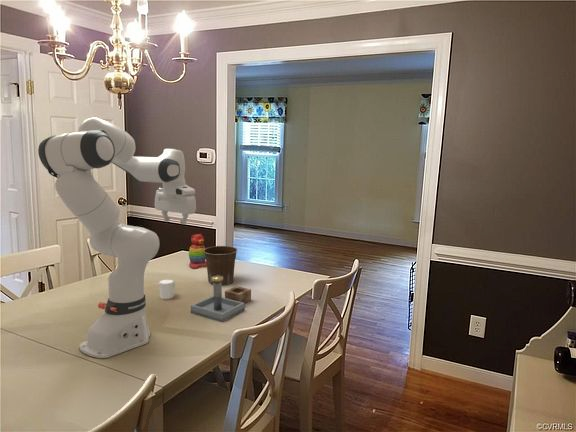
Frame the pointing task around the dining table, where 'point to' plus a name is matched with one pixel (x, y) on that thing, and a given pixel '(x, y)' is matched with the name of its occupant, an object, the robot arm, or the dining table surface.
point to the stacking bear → (197, 252)
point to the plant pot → (220, 263)
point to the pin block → (238, 294)
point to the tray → (226, 312)
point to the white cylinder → (166, 288)
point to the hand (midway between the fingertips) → (175, 222)
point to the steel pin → (217, 291)
